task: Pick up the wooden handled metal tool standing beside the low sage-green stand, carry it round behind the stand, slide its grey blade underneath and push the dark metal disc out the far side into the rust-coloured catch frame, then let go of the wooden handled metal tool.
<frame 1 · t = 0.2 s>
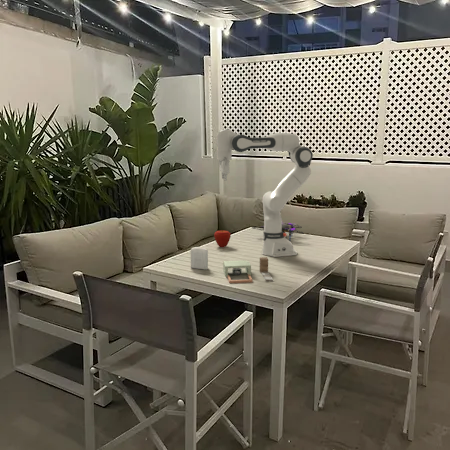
hand: (224, 179, 276), 48 cm above the table, tool pointing down, fingers open, 8 cm apart
drone: (282, 237, 331), on the table
photo printer: (199, 268, 259), on the table
wooden handled metal tool: (263, 272, 251), on the table
catch frame: (239, 279, 239), on the table
stand: (236, 273, 249), on the table
apple: (222, 247, 306), on the table
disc: (236, 273, 249), on the table
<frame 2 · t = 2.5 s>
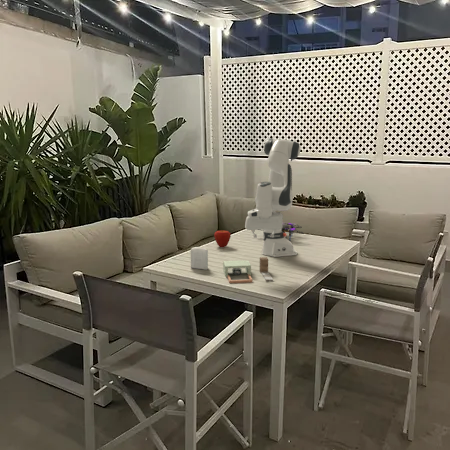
hand: (263, 237, 247), 20 cm above the table, tool pointing down, fingers open, 8 cm apart
nothing on the table moved.
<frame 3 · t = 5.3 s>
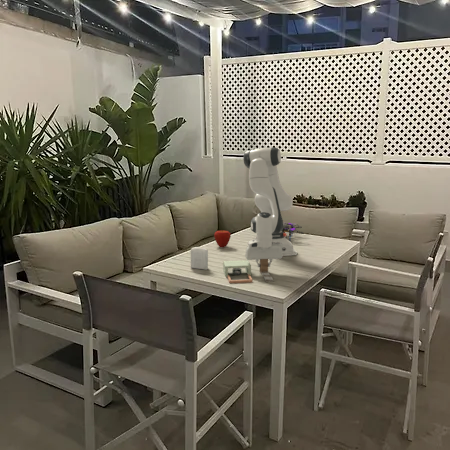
hand: (263, 266, 250), 3 cm above the table, tool pointing down, fingers closed on wooden handled metal tool, 4 cm apart
wooden handled metal tool: (263, 272, 251), on the table, touching gripper
everything else where it was.
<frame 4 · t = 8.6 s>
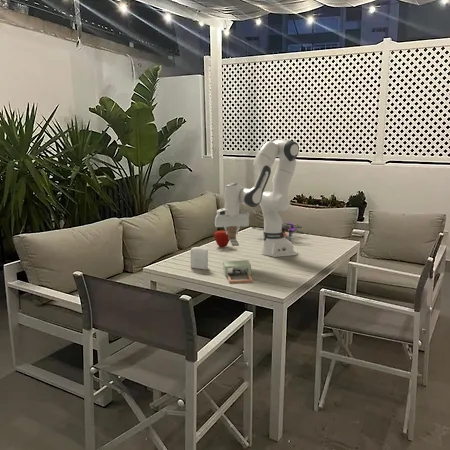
hand: (232, 234, 268), 17 cm above the table, tool pointing down, fingers closed on wooden handled metal tool, 4 cm apart
wooden handled metal tool: (232, 239, 268), point 14 cm above the table, touching gripper
everything else where it was.
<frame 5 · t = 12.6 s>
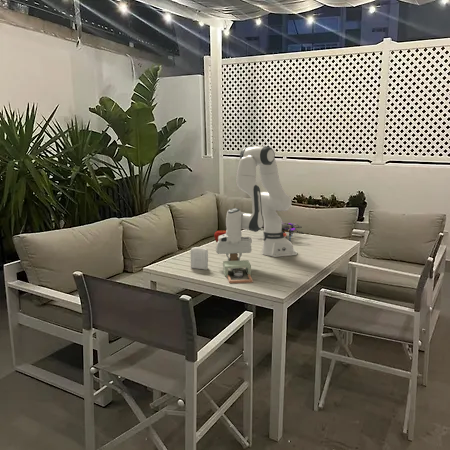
hand: (233, 260, 260), 4 cm above the table, tool pointing down, fingers closed on wooden handled metal tool, 4 cm apart
wooden handled metal tool: (233, 266, 262), on the table, touching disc, gripper
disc: (238, 276, 244), on the table, touching wooden handled metal tool
everything else where it was.
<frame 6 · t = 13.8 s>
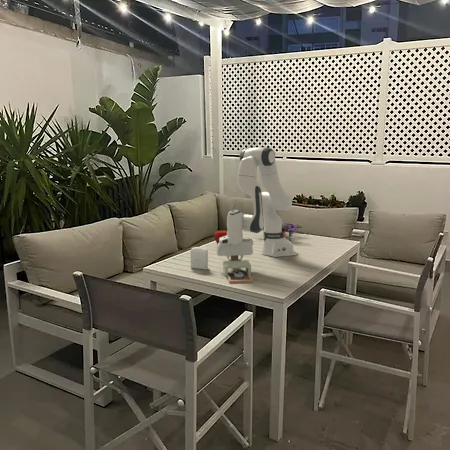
hand: (234, 262, 256), 4 cm above the table, tool pointing down, fingers closed on wooden handled metal tool, 4 cm apart
wooden handled metal tool: (234, 267, 260), on the table, touching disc, gripper
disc: (238, 278, 242), on the table, touching wooden handled metal tool
everything else where it was.
when the fingers open (4 cm above the table, at t = 16.6 s): wooden handled metal tool stays where it is, on the table.
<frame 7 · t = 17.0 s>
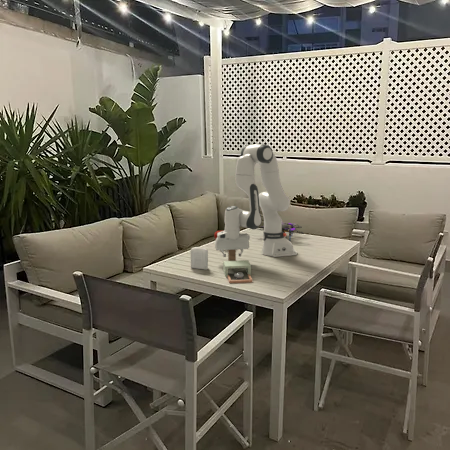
hand: (232, 256, 269), 4 cm above the table, tool pointing down, fingers open, 8 cm apart
wooden handled metal tool: (231, 261, 272), on the table
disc: (238, 278, 242), on the table
everything else where it was.
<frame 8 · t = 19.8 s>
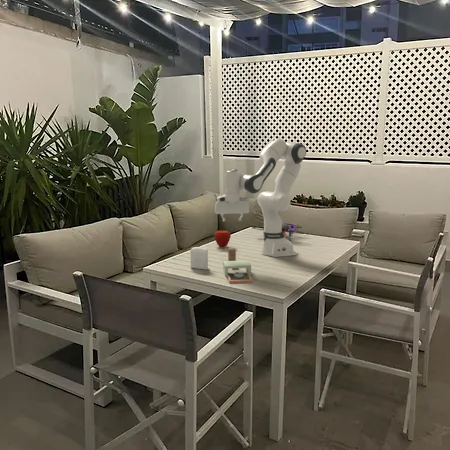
hand: (232, 221, 265), 25 cm above the table, tool pointing down, fingers open, 8 cm apart
nothing on the table moved.
at the end: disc inside the target area (3.2 cm from its centre), on the table; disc tilted 0°; the gripper is holding nothing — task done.
